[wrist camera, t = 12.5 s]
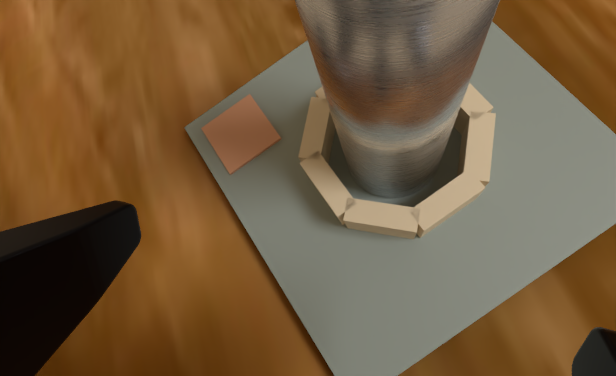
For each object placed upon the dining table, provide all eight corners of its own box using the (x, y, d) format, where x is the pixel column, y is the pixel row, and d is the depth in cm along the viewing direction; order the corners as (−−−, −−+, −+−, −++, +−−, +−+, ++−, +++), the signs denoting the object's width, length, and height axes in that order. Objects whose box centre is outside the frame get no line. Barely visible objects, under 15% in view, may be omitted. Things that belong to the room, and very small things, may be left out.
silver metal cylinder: (418, 213, 18) (498, -27, 5) (331, 177, 19) (202, -92, 6) (454, 130, 19) (614, -285, 5) (368, 100, 20) (326, -294, 7)
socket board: (354, 401, 17) (348, 420, 14) (191, 133, 22) (164, 111, 20) (658, 190, 17) (708, 170, 14) (422, -30, 22) (426, -75, 20)
